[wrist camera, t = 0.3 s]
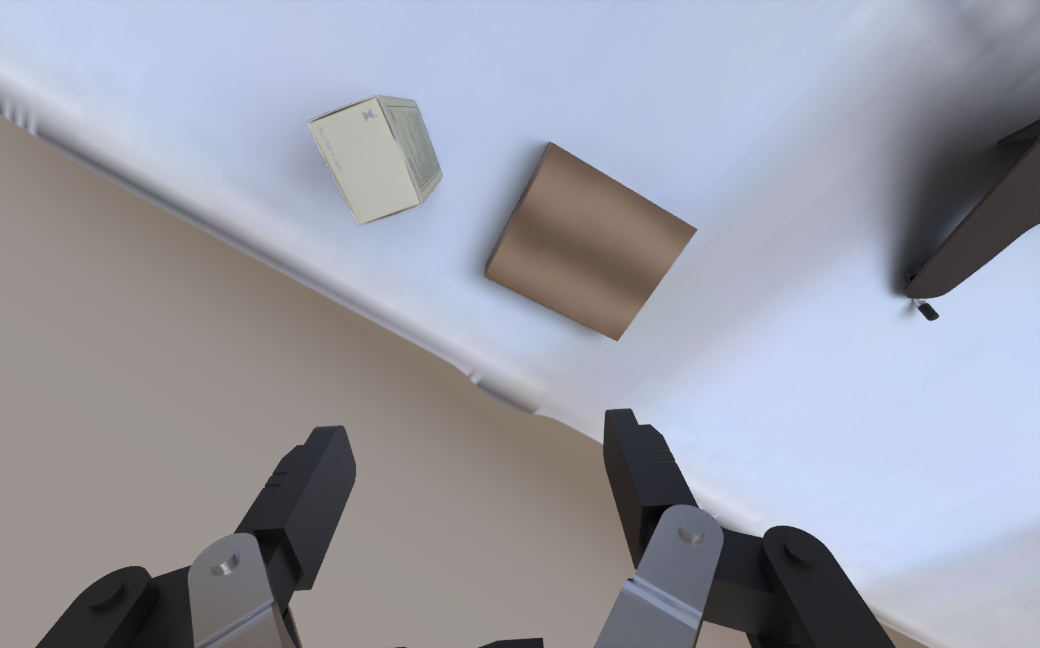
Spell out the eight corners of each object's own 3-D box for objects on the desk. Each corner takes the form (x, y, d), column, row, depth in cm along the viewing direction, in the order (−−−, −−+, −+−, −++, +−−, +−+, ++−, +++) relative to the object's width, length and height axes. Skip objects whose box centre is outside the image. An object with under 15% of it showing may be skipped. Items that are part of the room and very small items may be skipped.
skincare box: (365, 117, 33) (299, 116, 22) (417, 98, 33) (376, 88, 22) (398, 195, 36) (354, 229, 25) (447, 179, 35) (423, 206, 25)
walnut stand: (550, 141, 34) (554, 143, 32) (683, 221, 38) (697, 229, 35) (485, 265, 39) (484, 276, 36) (610, 327, 42) (617, 341, 40)
